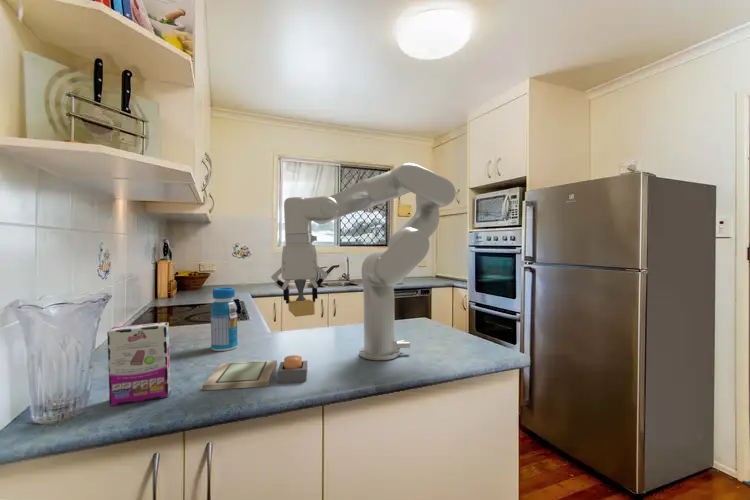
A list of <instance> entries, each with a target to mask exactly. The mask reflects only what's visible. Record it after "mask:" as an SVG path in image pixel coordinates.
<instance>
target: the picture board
mask: <svg viewBox="0 0 750 500" xmlns="http://www.w3.org/2000/svg"><path fill="white" fill-rule="evenodd" d="M277 365H278V360H277V359H275V360H273V359H272V360H260V361H259V360H258V361H257V360H256V361H240V362H239V361H237V362H224V363H221V364H220V365H219V366H218V367H217V368H216V370H214V372H213V373H212V374H211V375H210V376H209V378H208V379H207V380H206V381H205V382H204V383H203V384H202V391H212V390H227V389H229V390H231V389H244V388H246V389H247V388H261V387H269V385H270V382H271V380H272V377H273V375H274V374H275V373H274V372H275V370H276V368H277Z"/></svg>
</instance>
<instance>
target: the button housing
mask: <svg viewBox="0 0 750 500" xmlns="http://www.w3.org/2000/svg"><path fill="white" fill-rule="evenodd" d="M276 373H277V374H276V375H277V378H276V379H277V384H286V383H287V384H289V383H302V382H303V383H304V382H307V380H308V360H302V368H301V369H284V361H281V362H280V363H279V366H278V369H277V372H276Z"/></svg>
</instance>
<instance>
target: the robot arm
mask: <svg viewBox="0 0 750 500" xmlns="http://www.w3.org/2000/svg"><path fill="white" fill-rule="evenodd" d="M409 193H412V194H415V204H416V205H415V206H416V207H415V208H416V209H415V212H414V214H413V216H412V217H411V218H410V219H409V220H408V221H407V222H406V223H405V224H404V225H402V227H400V228H399V229H398V230H397V231H395V233H393V234H392V235H391V237H390V238H389V240H388V243H387V249H386V250H385V251H384V252H373V253H370V254H369V255H367V256H366V257H365V258H364V260H363V262H362V263H361V264H362V265H361V281H362V288H363V290H362V291H363V341H364V342H363V345H364V346H363V347H361V348H360V349H359V351H358V355H359V357H360V358H363V359H364V360H365V359H366V360H370V361H388V360H393V359H396V358H398V357H399V356H400V354H401V353H400V352H401V351H400V350H401V349H410V348H411V342H410V341H405V340H397V339H396V337H395V335H396V333H395V328H396V327H395V326H396V325H395V289H394V286H395V285H397V284H399V283H400V282H401V281H403V279H405V277H407V276H408V274H410V273H411V272H412V271H413V270H414V269H415V268H417V266H418V265H419V264H420V263H421V262H422V261H423V260H424V259H425V257H427V255H428V252H429V250H430V239H429V238H431V236H432V235H433V234H434V233H435V231H437V228H438V226H439V223H440V208H444V207H447V206H449V205H450V204H452V203H453V202H454V200H455V198H456V193H457V192H456V188H455V185H454V184H453V182H452V181H450V180H449V179H448V178H446V177H444V176H442V175H440V174H438V173H436V172H434V171H431V170H429V169H428V168H425V167H422V166H421V165H418V164H415V163H411V162H407V163H403V164H401V165H400V166H398V167H396V168H394V169H391V170H388V171H386V172H383V173H381V174H378V175H375V176H372V177H369V178H367V179H365V178H364V179H363V180H360V181H359V182H357V183H354V184H353V185H351V186H350V187H348V188H347V189H344V190H343V191H339V192H337V193H335V194H331V195H329V196H327V195H322V196H313V197H301V196H293V197H288V198H286V199H285V200H284V202H283V211H284V212H283V214H284V236H285V237H284V240H285V241H284V242H285V243H284V244H285V245H283V246H282V250H281V251H282V253H281V266H280V268H279V269H277V270H276V272H274V273H273V274H272V275H271V277H270V278H271V279H272V280H273V281H274V282H275V283H276V285H278V286H279V288H281V289H282V290H283V301H285V304H286V305H288V303H289V302H290V299H291V298H290V289H289V287H288V286H289V284H290V282H291V281H294V280H306V281H307V280H308V281H310V282H311V285H312V288H311V294H312V295H311V297H312V299H311V300H312V301H313V302H314V303H315V302H316V300H317V299H319V297H318V287H319V286H321V284H322V283H324V281H325V280H326V278H327V277H328V273H327V272H326V271H325V270H324V269H323V268H321V267H320V266H319V265H318V258H317V257H318V255H317V250H316V246H315V245H314V244H313V242H317V241H318V238H317V237H318V236H317V235H315V236H314V235H313V234H312V233H313V232H312V222H314V223H316V224H318V225H322V224H323V225H324V224H327V223H330V222H332V221H335V220H337V219H339V218H342V217H345V216H347V215H350V214H352V213H356V212H360V211H365V210H367V209H370V208H373V207H375V206H378V205H380V204H383V203H386V202H389V201H391V200H393V199H396V198H399V197H401V196H404V195H406V194H409ZM318 274H321V276H320V277H319V279H317V280H316V278H317V277H318ZM280 275H281V278H282V280H284V281H282V280H281V279H280V278H279V276H280Z"/></svg>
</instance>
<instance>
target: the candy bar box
mask: <svg viewBox="0 0 750 500" xmlns="http://www.w3.org/2000/svg"><path fill="white" fill-rule="evenodd" d="M169 324H170V323H169V321H167V322H155V323H154V322H153V323H145V324H133V325H132V324H131V325H122V326H121V325H120V326H113V327H112V328H110V329H109V330H108V331H107V332H106V333H107V354H108V356H107V357H108V358H107V361H108V362H107V363H108V366H107V367H108V389H109V390H108V391H109V395H108V396H109V397H108V398H109V402H108V403H109V406H110V407H114V406H121V405H127V404H133V403H140V402H145V401H152V400H157V399H164V398H168V397H169V394H170V392H171V389H172V388H171V387H172V384H171V383H172V382H171V381H172V380H171V357H170V325H169Z"/></svg>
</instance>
